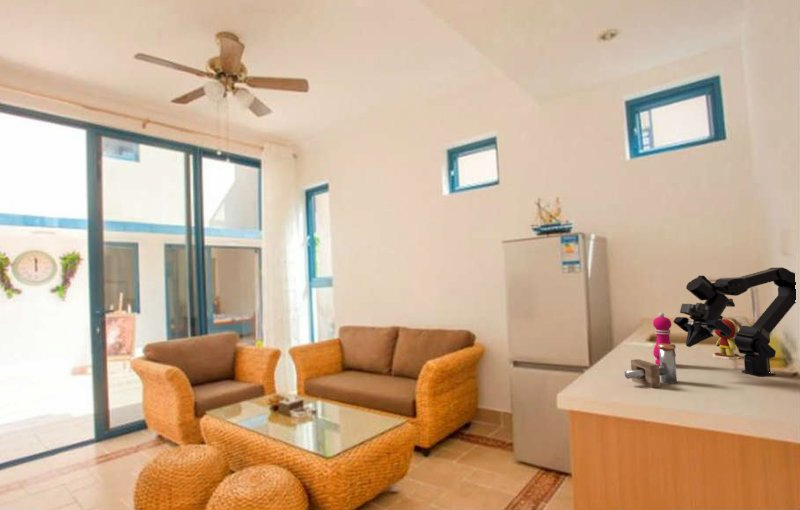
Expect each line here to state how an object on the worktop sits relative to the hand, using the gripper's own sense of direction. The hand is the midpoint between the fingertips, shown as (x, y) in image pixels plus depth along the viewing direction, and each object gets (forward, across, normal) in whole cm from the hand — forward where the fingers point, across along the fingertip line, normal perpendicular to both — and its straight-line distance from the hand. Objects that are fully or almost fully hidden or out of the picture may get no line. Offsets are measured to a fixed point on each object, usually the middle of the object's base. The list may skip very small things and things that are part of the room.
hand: (687, 346), depth 140 cm
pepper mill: (+4, -20, +11) cm, 23 cm away
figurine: (-17, -26, +34) cm, 46 cm away
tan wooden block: (+19, +1, -5) cm, 20 cm away
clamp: (+18, 0, -3) cm, 18 cm away
